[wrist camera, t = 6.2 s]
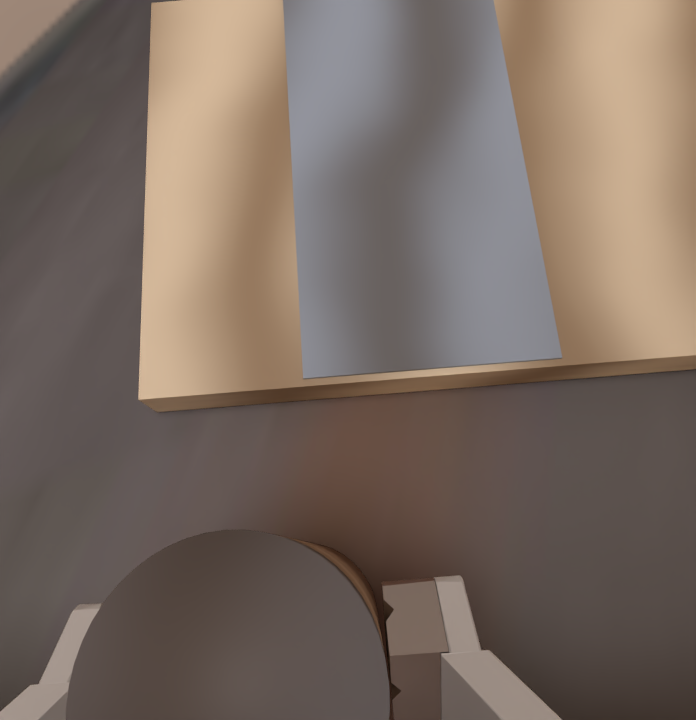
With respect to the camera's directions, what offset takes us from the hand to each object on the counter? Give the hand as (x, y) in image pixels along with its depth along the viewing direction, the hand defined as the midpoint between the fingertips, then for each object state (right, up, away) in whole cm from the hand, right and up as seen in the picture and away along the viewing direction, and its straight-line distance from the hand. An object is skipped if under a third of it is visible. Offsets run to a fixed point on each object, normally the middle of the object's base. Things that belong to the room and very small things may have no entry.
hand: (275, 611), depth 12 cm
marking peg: (0, -2, +4) cm, 5 cm away
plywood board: (+7, +11, +8) cm, 16 cm away
